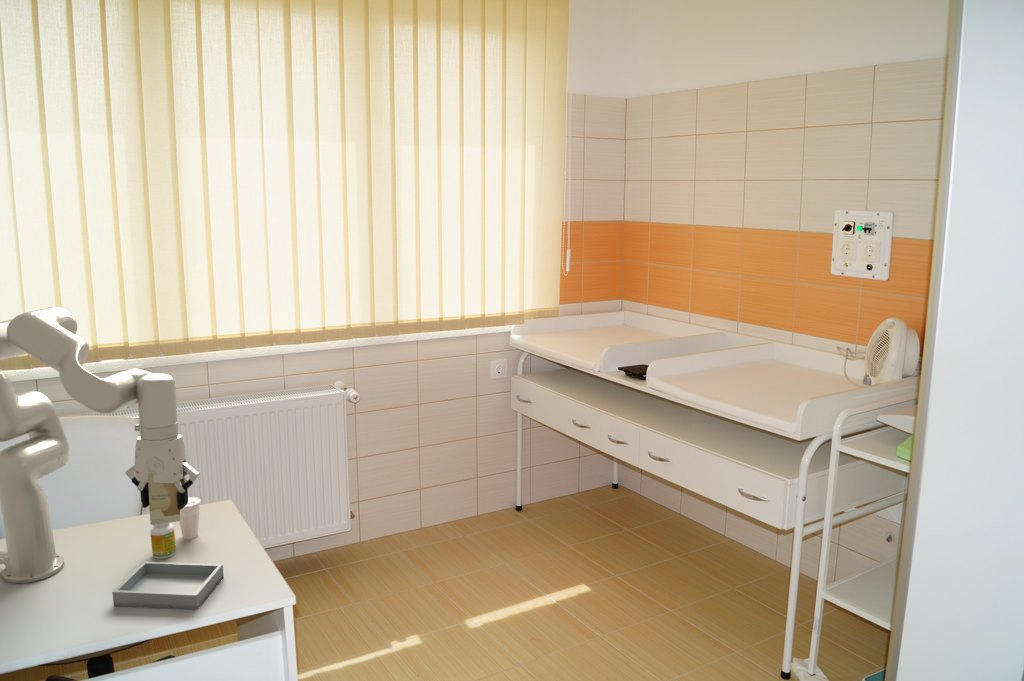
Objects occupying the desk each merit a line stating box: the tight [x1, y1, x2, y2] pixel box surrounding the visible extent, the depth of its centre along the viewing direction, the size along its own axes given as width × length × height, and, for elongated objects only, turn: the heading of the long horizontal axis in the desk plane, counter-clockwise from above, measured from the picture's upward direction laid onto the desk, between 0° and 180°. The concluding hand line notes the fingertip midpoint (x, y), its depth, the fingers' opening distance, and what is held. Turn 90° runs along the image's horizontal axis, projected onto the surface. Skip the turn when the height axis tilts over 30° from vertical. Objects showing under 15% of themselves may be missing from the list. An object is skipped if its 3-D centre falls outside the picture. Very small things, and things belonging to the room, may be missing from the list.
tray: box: [111, 561, 224, 610], centre depth 178 cm, size 19×14×4 cm
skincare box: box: [148, 473, 180, 526], centre depth 173 cm, size 6×4×12 cm
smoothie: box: [178, 496, 202, 540], centre depth 204 cm, size 6×6×14 cm
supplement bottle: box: [150, 522, 177, 560], centre depth 195 cm, size 5×5×10 cm
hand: (165, 505), depth 174 cm, fingers closed on skincare box, 7 cm apart
